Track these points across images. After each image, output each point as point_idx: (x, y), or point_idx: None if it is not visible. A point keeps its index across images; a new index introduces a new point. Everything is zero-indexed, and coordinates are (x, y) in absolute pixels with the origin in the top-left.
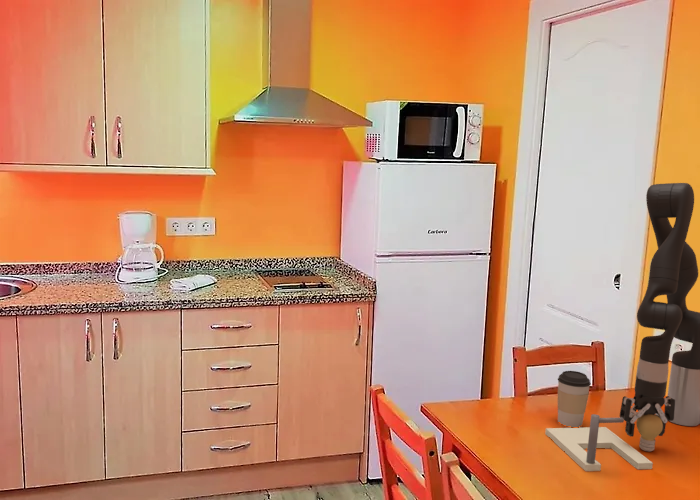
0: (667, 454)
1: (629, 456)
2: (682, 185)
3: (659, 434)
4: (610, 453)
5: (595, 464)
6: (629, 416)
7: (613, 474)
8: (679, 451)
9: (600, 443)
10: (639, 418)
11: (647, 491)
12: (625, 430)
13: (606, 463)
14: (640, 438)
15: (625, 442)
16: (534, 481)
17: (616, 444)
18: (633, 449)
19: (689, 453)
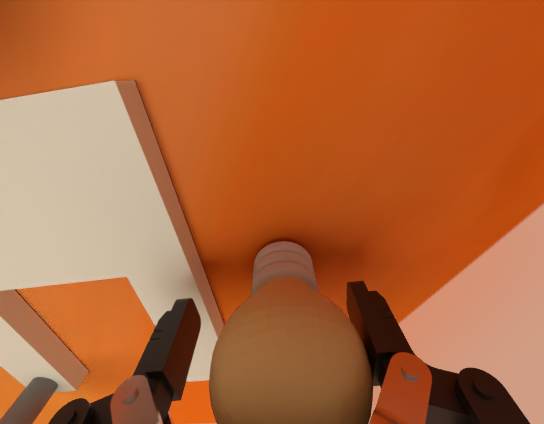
0: (343, 285)
1: None
2: None
3: (349, 307)
4: (130, 292)
5: (60, 391)
6: (134, 416)
7: (122, 380)
8: (412, 262)
9: (77, 281)
10: (213, 412)
11: (184, 418)
12: (159, 322)
13: (109, 342)
14: (252, 288)
15: (188, 271)
16: None
17: (143, 290)
18: (202, 318)
19: (439, 274)
